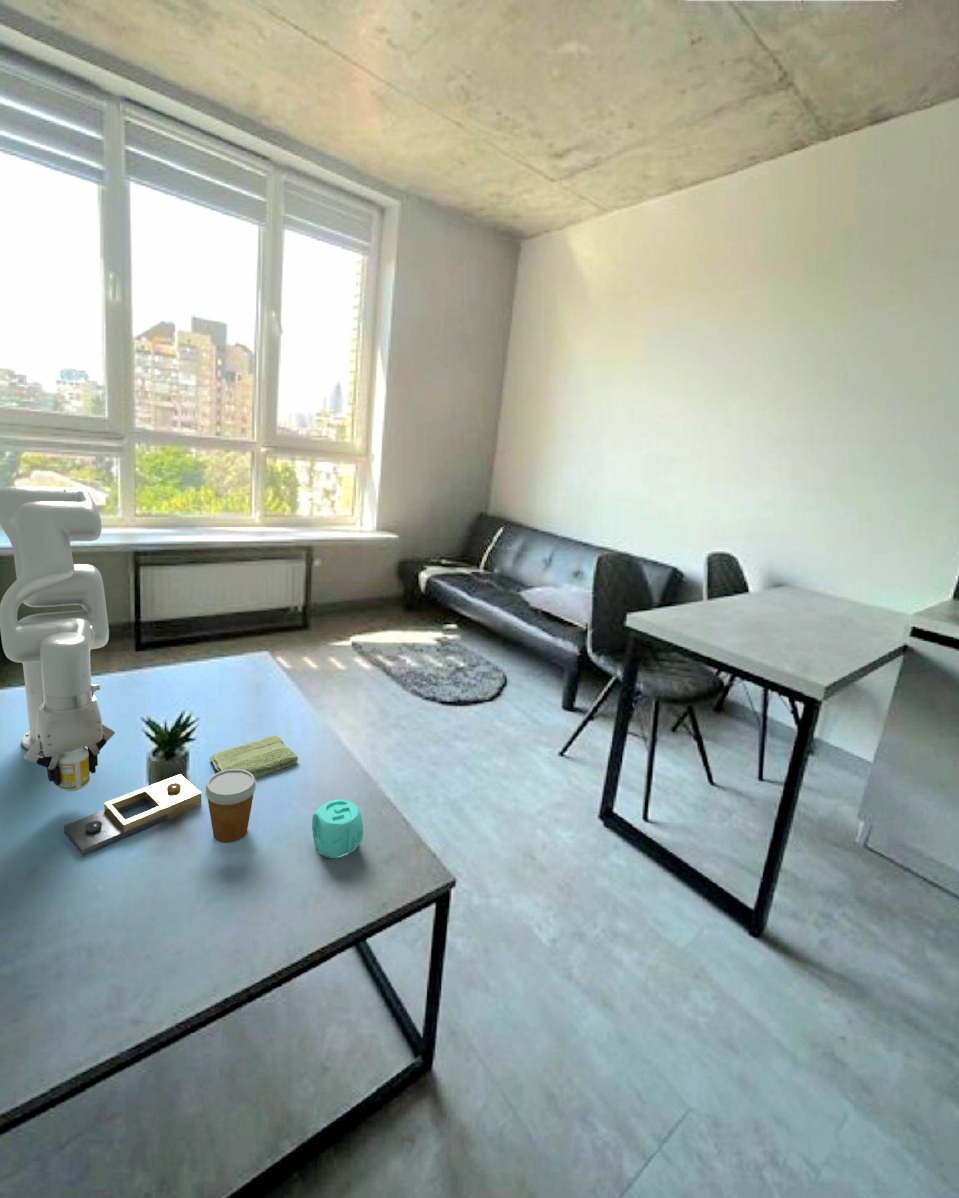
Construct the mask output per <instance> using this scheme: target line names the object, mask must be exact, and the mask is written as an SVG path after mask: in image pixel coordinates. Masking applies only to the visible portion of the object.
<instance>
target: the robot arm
mask: <svg viewBox="0 0 959 1198" xmlns="http://www.w3.org/2000/svg"><path fill="white" fill-rule="evenodd" d="M0 527H1V528H2V531H4V533H5V535H6V536H7V539H8V541H9V542H10V545H11V547H12V550H13V551H12V552H13V559H14V568H15V569H14V570H15V574H16V575H15V576H16V580H15V581H14V582H13V583H12V584H11V585H9V588H7V590H6V591H5V593H4V595H3V596H2V599H1V601H0V638H1V645H2V650H3V653H4V654H5V656H6V658H7V659H9V660H10V661H12V662H14V663H21V664H22V669H23V678H24V686H25V687H24V688H25V698H26V707H27V709H26V710H27V719H28V727H29V728H28V729H29V730H28V731H27V732H26V733H25V734H24V735H22V738H21V744H22V746H23V747H24V748H25V749H27V751H26V752H25V754H23V758H24V759H25V760H26V761H27V762H29V763H34V764H37V765H39V766H41V767H43V768H46V772H47V779H48V781H49V782H53V784H54V785H55V786H56V787H58V785H60V784H61V779H60V768H59V767H58V765H57V762H58V759H59V756H60V754H64V753H67V752H70V751H73V750H77V749H80V748H83V747H85V748H86V749H87V750H88V752H89V771H90V774H96V772H97V771H96V770H97V768H96V767H97V766H98V765H99V762H98V756H99V755H100V752H101V750H102V749H103V748H104V746H105V745H106V744H107V742H108V741H109V740H110V739H111V738H112V737H114V735H115V733H116V732H115V730H114V729H112V728H111V727H109V726H107V725H106V724H104V723H103V722H102V715H101V709H100V707H99V703H98V701H97V698H96V696H95V695H94V693H95V692H96V691H100V690H101V686H100V684H99V683H92V672H91V668H92V667H91V650H95V649H100V648H103V647H105V646H106V645H107V644H108V641H109V639H110V637H109V636H110V628H109V620H108V612H107V604H106V602H107V601H106V593H105V586H104V581H103V578H102V574H101V572H100V571H99V569H98V568H97V567H96V566H95V565H92V564H88V563H87V564H86V563H75V562H74V559H73V553H72V547H71V542H95V541H96V540H98V539H100V536H101V533H102V520H101V515H100V511H99V509H98V507H97V505H96V503H95V502H94V499H93V497H92V496H91V494H90V493H89V492H88V491H87V490H86V489H84V488H80V487H71V486H69V487H67V486H66V487H65V486H63V487H62V486H43V485H12V486H11V485H10V486H4V487H3V486H2V487H0ZM74 563H75V564H74ZM22 604H24V605H25V606H27V607H31V608H50V607H62V606H63V607H64V606H73V605H74V606H81V607H82V610H81V609H79V610H69V611H67V610H66V611H53V612H43V613H42V612H41V613H40V612H39V613H34V614H30V615H27V616H24V617H22V618H21V619H19V618H18V611H19V607H20V606H21V605H22ZM18 619H19V620H18ZM40 752H42V753H43V755H41V754H39V753H40Z"/></svg>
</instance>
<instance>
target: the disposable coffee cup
mask: <svg viewBox="0 0 959 1198" xmlns="http://www.w3.org/2000/svg"><path fill="white" fill-rule="evenodd" d="M206 782H207V783H206V785H205V786H204V789H203V791H204V796H205V797H206V798H207V805H208V808H209V809H208V810H209V816H210V817H209V818H210V821H211V828H212V833H213V836H212V837H213V838H214V840H215V841H217V842H219V843H221V844H222V843H223V844H231V843H236V842H238V841H240V840H242V839H243V838H244V837H245V836H246V835H247V832H248V829H249V823H250V819H251V817H250V816H251V811H252V805H253V798H254V794H255V792H256V790H257V786H258V781H257V780H256V778H254V776H253V774H252V773H250V772H249V771H246V770H242V769H228V770H224V771H221V772H219V771H217V773H214V774H213V775H212V776H210V778H208V779H207V781H206Z"/></svg>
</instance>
